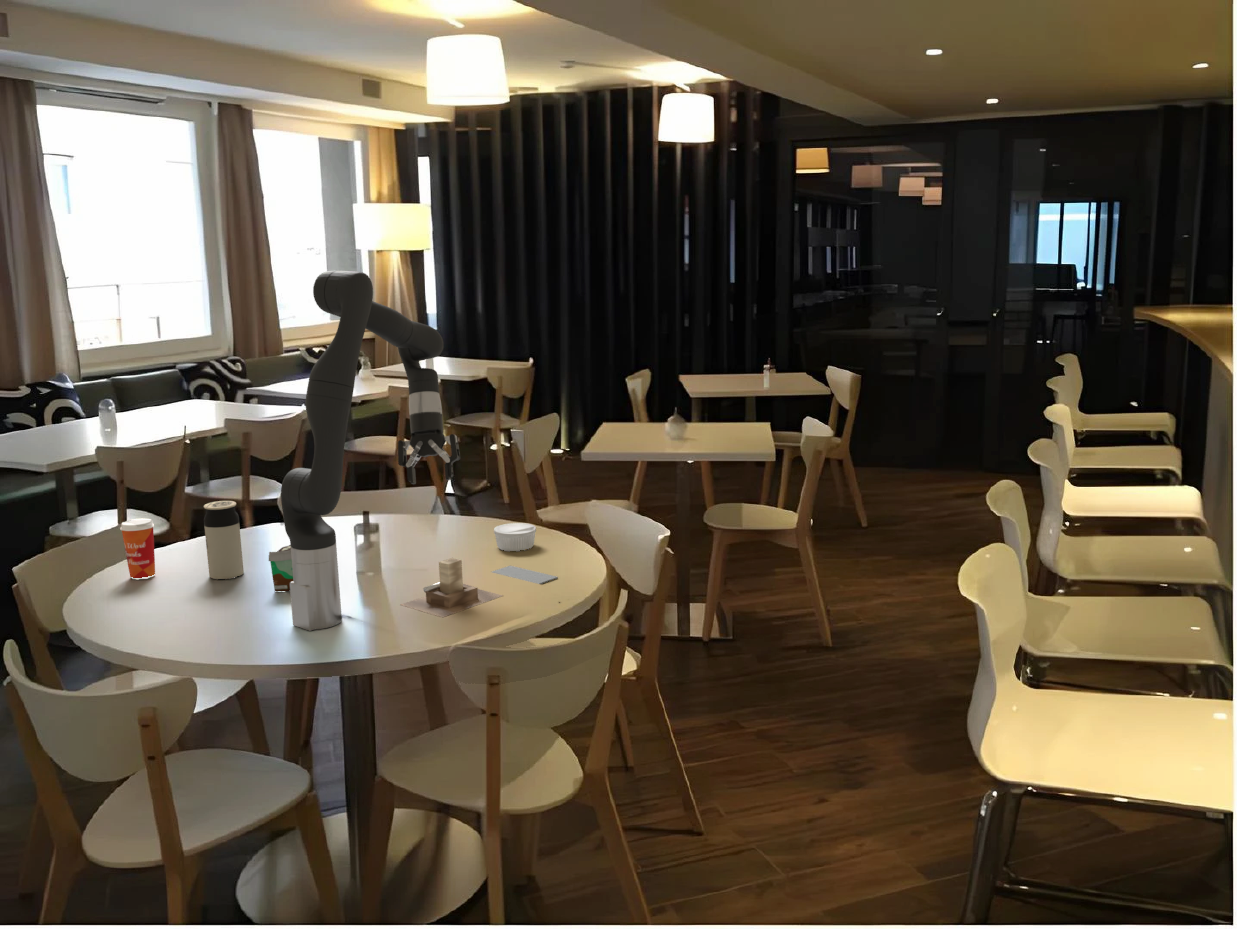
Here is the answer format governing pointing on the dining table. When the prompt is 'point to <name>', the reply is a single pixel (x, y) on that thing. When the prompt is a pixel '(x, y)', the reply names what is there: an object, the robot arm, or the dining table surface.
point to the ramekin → (515, 536)
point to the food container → (281, 568)
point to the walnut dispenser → (450, 600)
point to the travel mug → (223, 540)
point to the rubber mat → (525, 574)
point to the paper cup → (139, 547)
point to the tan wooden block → (450, 576)
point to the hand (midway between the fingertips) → (431, 481)
